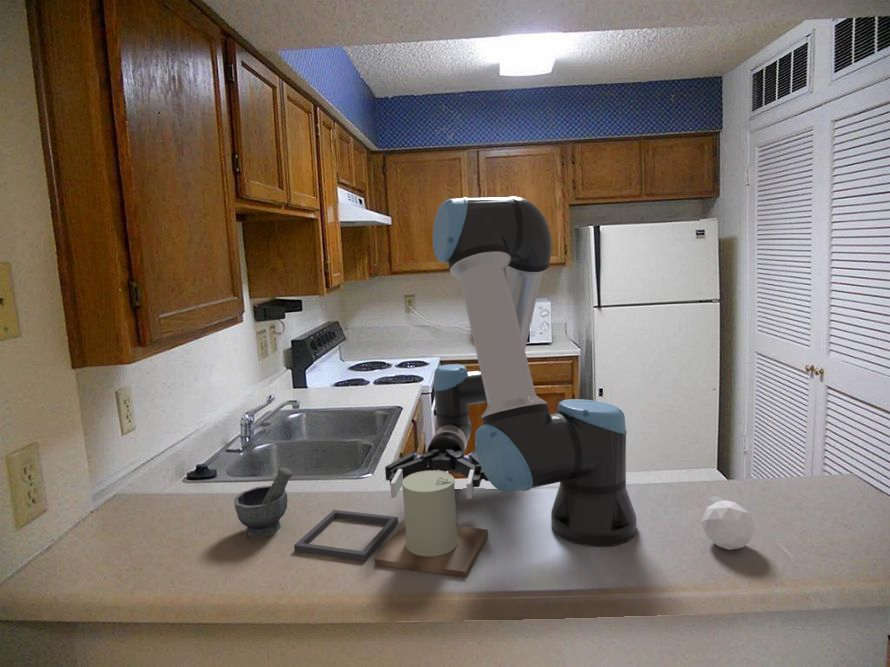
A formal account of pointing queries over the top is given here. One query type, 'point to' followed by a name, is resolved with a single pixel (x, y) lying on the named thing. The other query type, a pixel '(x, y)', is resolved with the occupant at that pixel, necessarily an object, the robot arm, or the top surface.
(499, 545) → the top surface
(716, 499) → the butter knife
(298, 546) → the grey picture frame
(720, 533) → the ball
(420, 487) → the can
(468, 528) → the walnut board
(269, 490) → the mortar and pestle
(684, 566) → the top surface
